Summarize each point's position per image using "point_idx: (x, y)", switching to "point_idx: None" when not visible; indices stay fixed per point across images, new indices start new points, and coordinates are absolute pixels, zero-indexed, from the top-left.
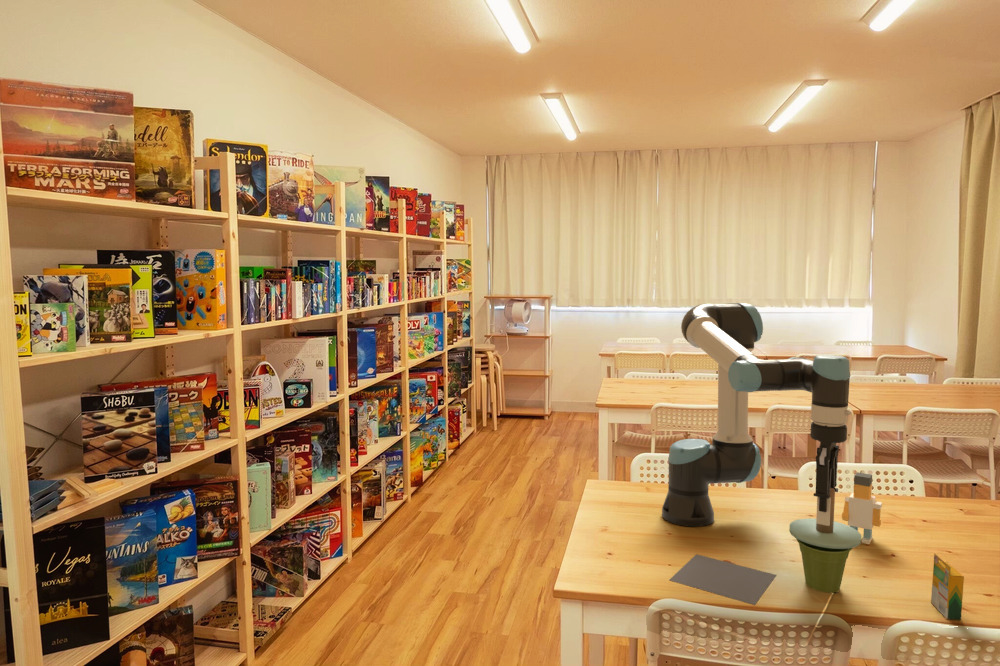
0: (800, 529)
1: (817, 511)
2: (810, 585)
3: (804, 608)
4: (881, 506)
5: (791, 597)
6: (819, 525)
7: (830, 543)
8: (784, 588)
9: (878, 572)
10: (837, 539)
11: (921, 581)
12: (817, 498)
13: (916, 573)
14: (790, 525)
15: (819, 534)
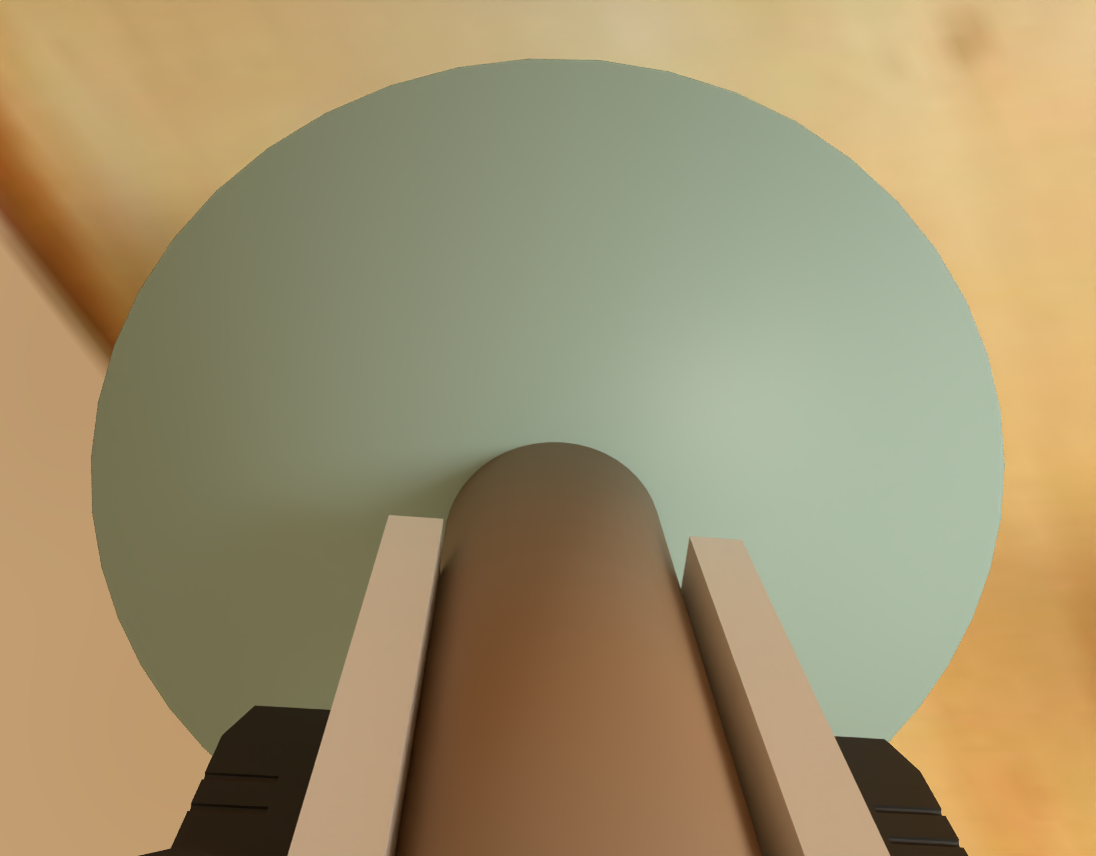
0: (401, 248)
1: (351, 645)
2: None
3: (103, 256)
4: None
5: (222, 142)
6: (451, 533)
7: (131, 643)
8: (351, 64)
9: (986, 629)
10: (316, 697)
11: None
12: (288, 854)
13: (1059, 807)
14: (490, 77)
15: (355, 504)
